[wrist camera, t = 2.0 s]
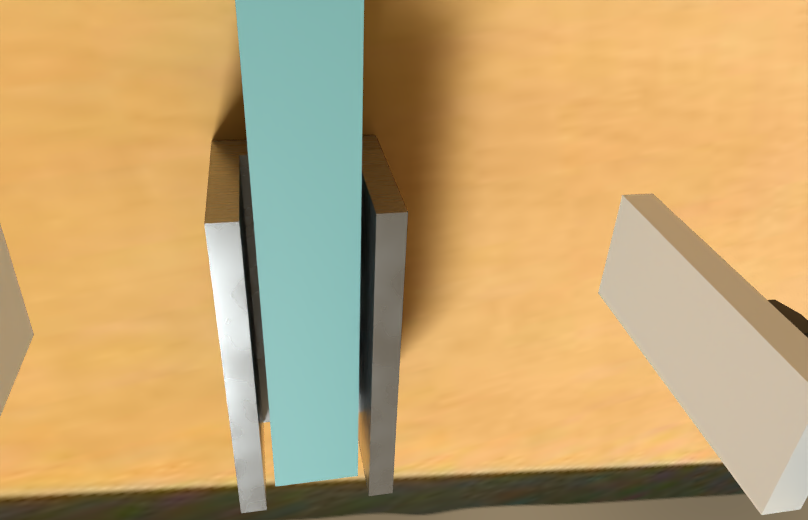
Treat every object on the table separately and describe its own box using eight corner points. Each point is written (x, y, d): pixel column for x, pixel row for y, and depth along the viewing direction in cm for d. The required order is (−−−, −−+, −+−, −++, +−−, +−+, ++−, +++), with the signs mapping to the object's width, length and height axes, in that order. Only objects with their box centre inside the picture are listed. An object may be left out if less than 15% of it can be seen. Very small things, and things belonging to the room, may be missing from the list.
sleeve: (241, 402, 39) (241, 513, 33) (211, 140, 31) (204, 223, 24) (369, 389, 41) (392, 492, 34) (375, 135, 32) (407, 212, 26)
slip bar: (271, 412, 37) (275, 486, 33) (227, -141, 23) (224, -131, 19) (345, 404, 38) (357, 475, 34) (344, -136, 24) (365, -125, 20)
